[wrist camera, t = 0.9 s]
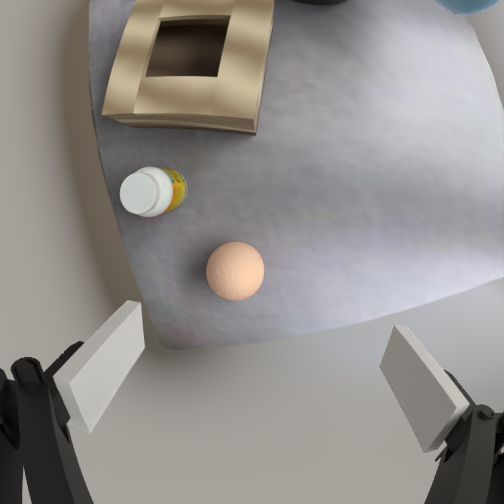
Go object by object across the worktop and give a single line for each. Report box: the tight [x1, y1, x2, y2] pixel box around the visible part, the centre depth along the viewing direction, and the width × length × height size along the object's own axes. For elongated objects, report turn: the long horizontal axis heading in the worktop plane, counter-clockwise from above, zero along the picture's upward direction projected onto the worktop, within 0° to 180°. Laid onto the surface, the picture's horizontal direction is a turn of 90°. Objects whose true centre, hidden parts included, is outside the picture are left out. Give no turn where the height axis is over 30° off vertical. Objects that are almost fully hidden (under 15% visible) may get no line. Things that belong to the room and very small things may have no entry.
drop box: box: [101, 0, 274, 135], centre depth 25 cm, size 16×16×9 cm
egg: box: [206, 242, 264, 301], centre depth 32 cm, size 7×7×8 cm
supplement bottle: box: [120, 167, 187, 217], centre depth 29 cm, size 5×5×10 cm
